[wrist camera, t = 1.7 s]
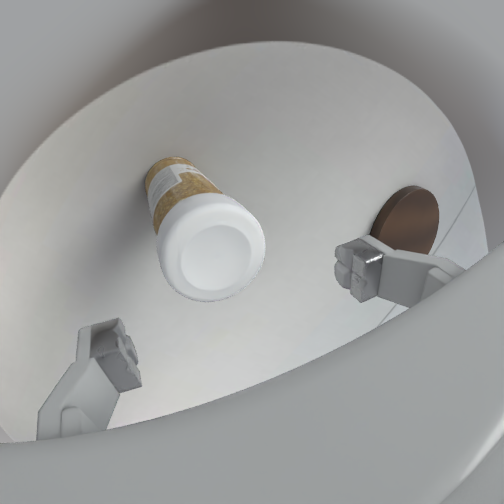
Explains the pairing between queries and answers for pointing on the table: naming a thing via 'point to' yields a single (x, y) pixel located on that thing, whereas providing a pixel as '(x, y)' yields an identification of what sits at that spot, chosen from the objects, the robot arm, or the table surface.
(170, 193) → the sprinkles bottle
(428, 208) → the disc
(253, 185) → the table surface
